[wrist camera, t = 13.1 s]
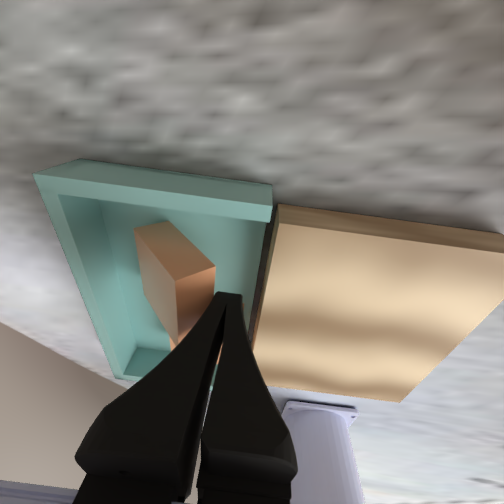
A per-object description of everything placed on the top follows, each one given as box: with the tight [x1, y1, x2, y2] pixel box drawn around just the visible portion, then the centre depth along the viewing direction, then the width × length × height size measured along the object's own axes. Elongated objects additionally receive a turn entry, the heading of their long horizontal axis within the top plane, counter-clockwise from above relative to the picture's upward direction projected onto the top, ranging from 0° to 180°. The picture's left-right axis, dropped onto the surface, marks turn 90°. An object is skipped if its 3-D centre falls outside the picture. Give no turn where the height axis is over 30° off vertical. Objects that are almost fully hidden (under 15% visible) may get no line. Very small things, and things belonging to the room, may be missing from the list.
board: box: [251, 204, 504, 403], centre depth 16 cm, size 15×13×2 cm
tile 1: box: [133, 221, 216, 346], centre depth 13 cm, size 5×5×2 cm
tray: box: [32, 159, 273, 391], centre depth 16 cm, size 17×10×3 cm, turn 173°
